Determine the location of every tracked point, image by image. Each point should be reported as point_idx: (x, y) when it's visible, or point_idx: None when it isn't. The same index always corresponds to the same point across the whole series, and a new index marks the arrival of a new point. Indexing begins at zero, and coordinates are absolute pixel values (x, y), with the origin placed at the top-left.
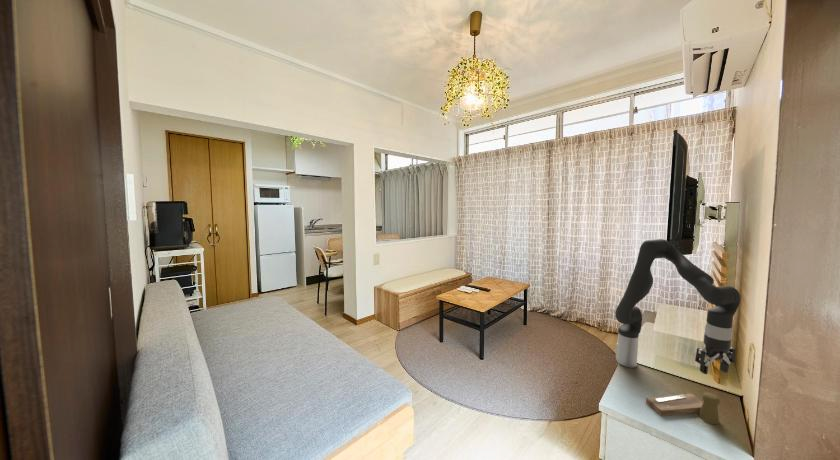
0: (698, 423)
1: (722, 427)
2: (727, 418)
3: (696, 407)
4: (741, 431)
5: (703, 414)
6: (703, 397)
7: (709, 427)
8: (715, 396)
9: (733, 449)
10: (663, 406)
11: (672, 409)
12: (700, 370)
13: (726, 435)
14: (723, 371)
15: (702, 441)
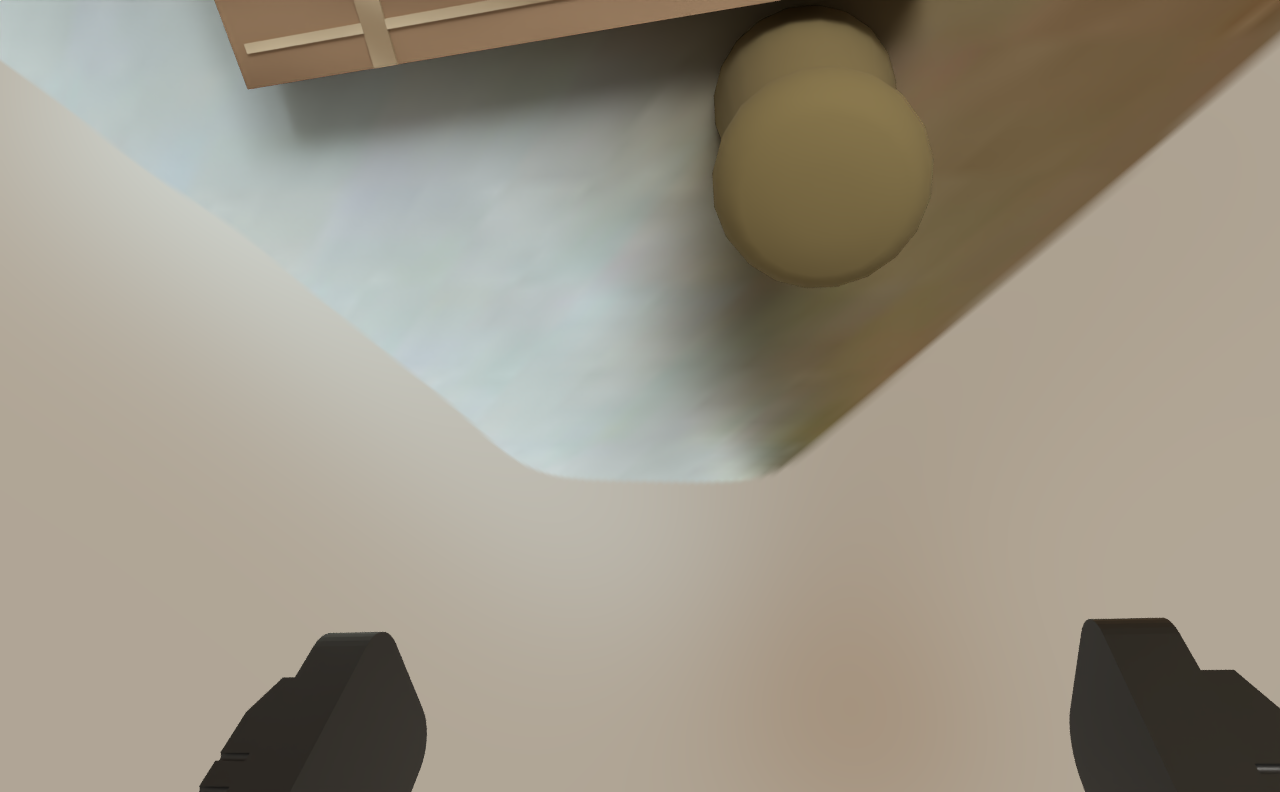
0: (622, 180)
1: None
2: (1041, 91)
3: (730, 5)
4: (980, 281)
5: (721, 132)
6: (716, 162)
7: (693, 233)
8: (871, 228)
9: (687, 458)
10: (304, 3)
11: (385, 64)
12: (267, 712)
13: (771, 328)
14: (1073, 699)
15: (495, 387)
